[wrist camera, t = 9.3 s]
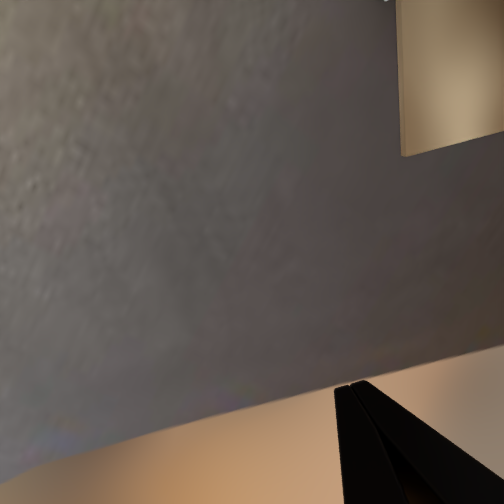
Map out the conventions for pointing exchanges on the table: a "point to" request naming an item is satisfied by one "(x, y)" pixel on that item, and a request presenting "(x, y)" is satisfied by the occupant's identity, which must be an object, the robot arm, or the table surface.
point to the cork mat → (449, 71)
